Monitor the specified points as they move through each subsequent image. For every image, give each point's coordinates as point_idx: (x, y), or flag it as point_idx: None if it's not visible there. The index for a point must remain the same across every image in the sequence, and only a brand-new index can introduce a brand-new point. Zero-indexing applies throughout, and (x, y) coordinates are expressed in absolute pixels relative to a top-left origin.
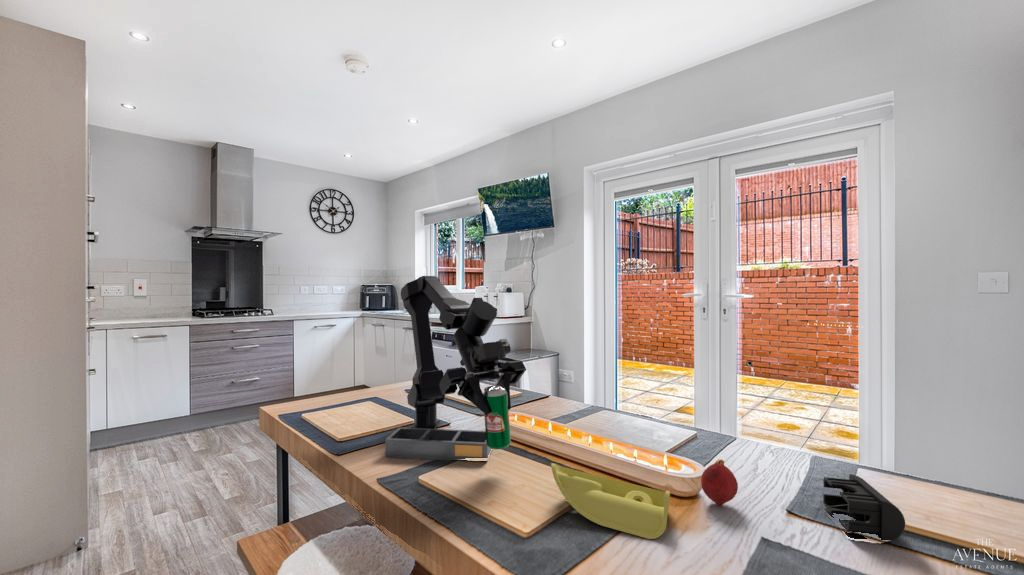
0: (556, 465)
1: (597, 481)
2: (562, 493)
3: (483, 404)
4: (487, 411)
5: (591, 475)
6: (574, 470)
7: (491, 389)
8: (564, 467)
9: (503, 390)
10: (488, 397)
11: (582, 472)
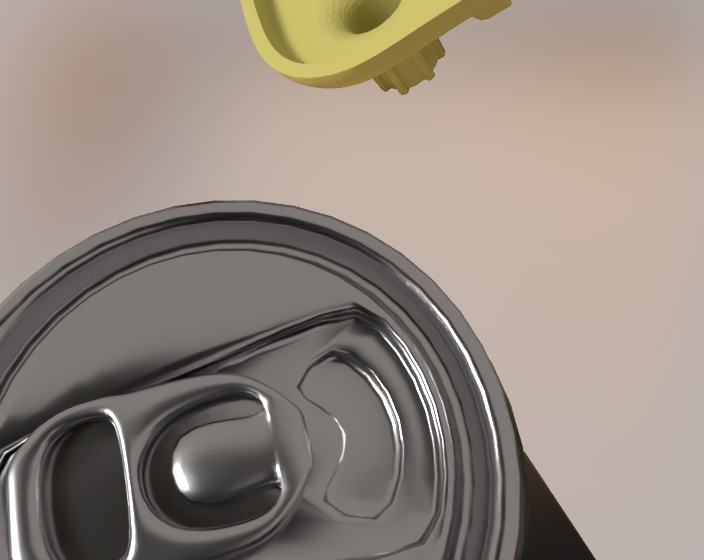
0: (425, 12)
1: (266, 7)
2: (510, 2)
3: (574, 531)
4: (525, 460)
5: (259, 14)
6: (281, 56)
7: (288, 531)
8: (318, 65)
9: (218, 220)
10: (520, 444)
11: (266, 37)
